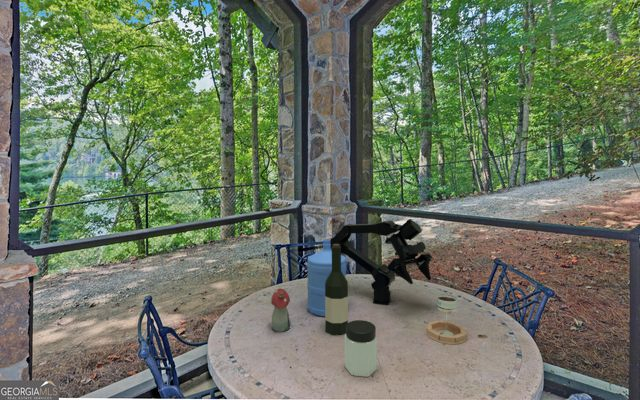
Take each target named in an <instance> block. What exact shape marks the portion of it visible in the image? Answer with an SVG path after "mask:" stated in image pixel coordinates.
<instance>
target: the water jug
mask: <svg viewBox="0 0 640 400" xmlns="http://www.w3.org/2000/svg"><path fill="white" fill-rule="evenodd" d="M330 241H331V240H330V239H322V250H320V251H317V252H316V253H314V254H312V255H309V256H308V258H307V265H306V266H307V268H306V269H307V310H308V312H310V313H311V314H312V315H315V316H318V317H325V281H326V279H327V278H328V276H329V274H330V273H331V271H332V248H331V244H330ZM347 266H348V265H347V258H346V257H345V255H342V254H341V271H342V273H343V275H344V276H345V277H346V276H347Z"/></svg>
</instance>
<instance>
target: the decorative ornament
mask: <svg viewBox="0 0 640 400" xmlns="http://www.w3.org/2000/svg"><path fill="white" fill-rule="evenodd" d="M270 300H271V301H270V303H271V305H272V306H273V307H274V308H273V310H272V314H271V327H272V330H274V331H275V332H278V333H279V332H281V333H282V332H287V331H288V330H289V329H290V328H291V319H290V315H289V310H288V307H287V306H288V305H289V303H290V302H291V299H290V295H289V293H288V292H287V290H285V289H284V288H278V289H277V290H275V291H274V292H273V294H272V297H271V299H270Z"/></svg>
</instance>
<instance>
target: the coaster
mask: <svg viewBox="0 0 640 400" xmlns="http://www.w3.org/2000/svg"><path fill="white" fill-rule="evenodd" d="M440 329H446V326H445V320H433V321H430V322H427V323H426V328H425V334H426V336H427V337H428V338H429V339H431V340H432V341H435V342H437V343H440V344H444V345H445V344H446V345H461V344H464V343H466V342H467V340H468V334H467V332H466V328H465V327H464V326H462V325H459V324H457V323H456V322H452V321H450V320H449V321H448V320H447V330H450V331H452V332H453V333H454V335H453V336H451V335H443V334H440V333H439V332H438V331H439V330H440Z"/></svg>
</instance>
